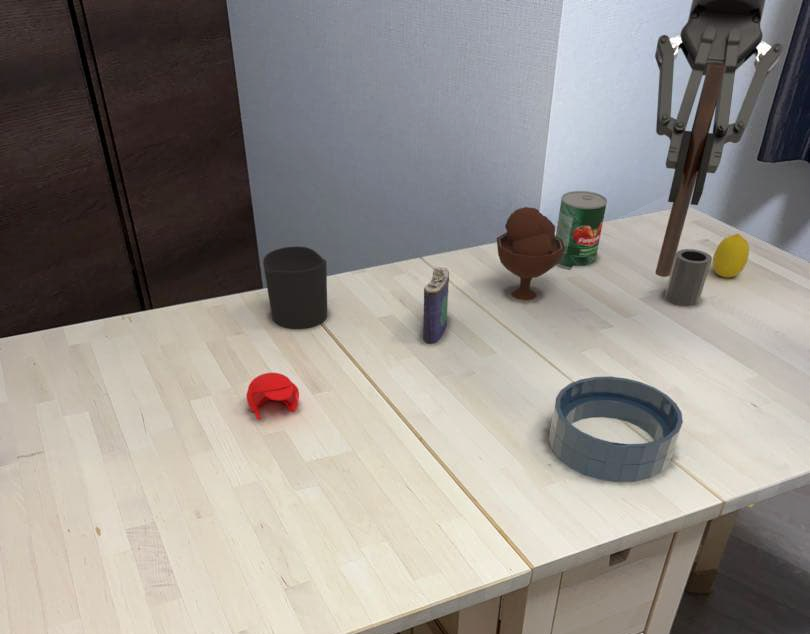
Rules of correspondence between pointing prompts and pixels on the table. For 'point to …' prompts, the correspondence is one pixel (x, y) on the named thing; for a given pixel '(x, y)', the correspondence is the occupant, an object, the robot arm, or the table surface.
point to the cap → (272, 392)
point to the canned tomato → (580, 227)
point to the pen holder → (296, 287)
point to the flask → (435, 305)
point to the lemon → (731, 256)
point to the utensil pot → (688, 277)
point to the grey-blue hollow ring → (624, 404)
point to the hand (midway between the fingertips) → (684, 197)
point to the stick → (691, 166)
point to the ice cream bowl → (529, 248)
